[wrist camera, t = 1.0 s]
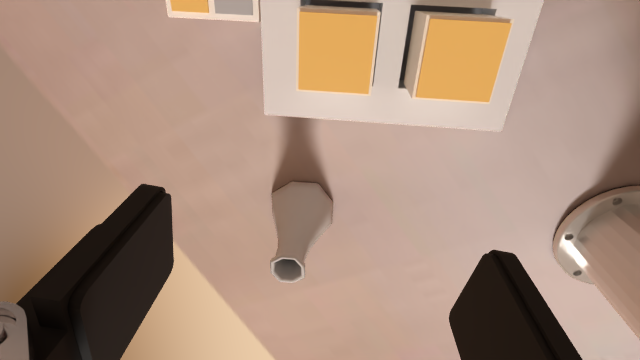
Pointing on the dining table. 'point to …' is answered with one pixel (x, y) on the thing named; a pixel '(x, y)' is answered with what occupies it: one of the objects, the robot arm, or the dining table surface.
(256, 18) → the card
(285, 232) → the flask
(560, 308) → the dining table surface
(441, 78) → the button
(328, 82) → the button
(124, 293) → the robot arm
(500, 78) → the button board
